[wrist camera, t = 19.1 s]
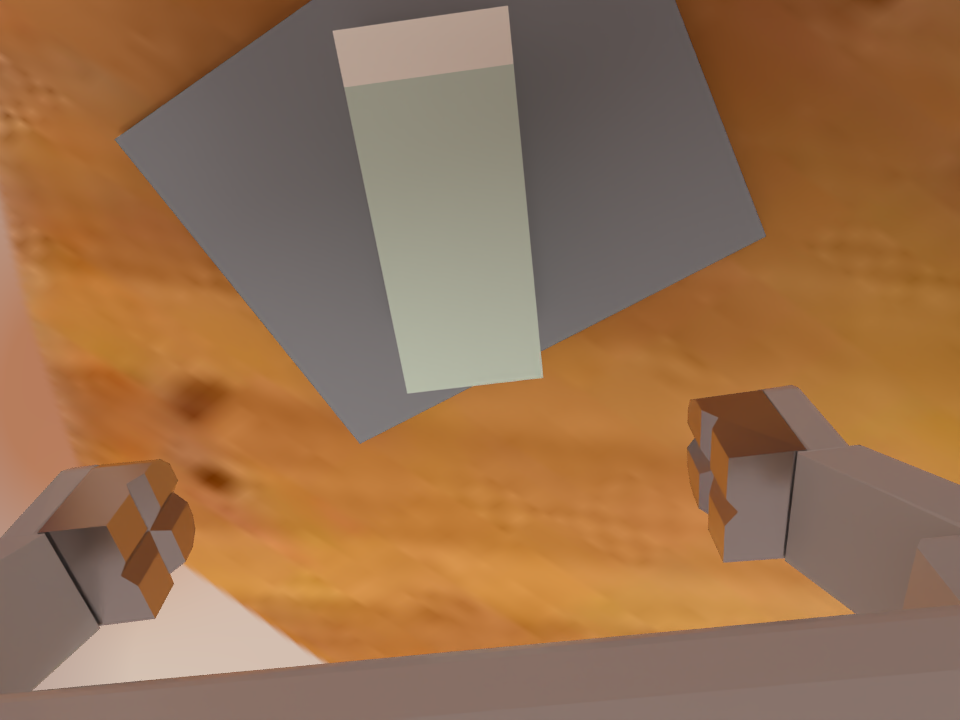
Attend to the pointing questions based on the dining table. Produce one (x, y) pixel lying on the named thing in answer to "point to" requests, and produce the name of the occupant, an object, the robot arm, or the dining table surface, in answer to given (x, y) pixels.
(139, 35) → the dining table surface
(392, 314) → the sage block
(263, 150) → the rubber mat
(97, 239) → the dining table surface
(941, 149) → the dining table surface
